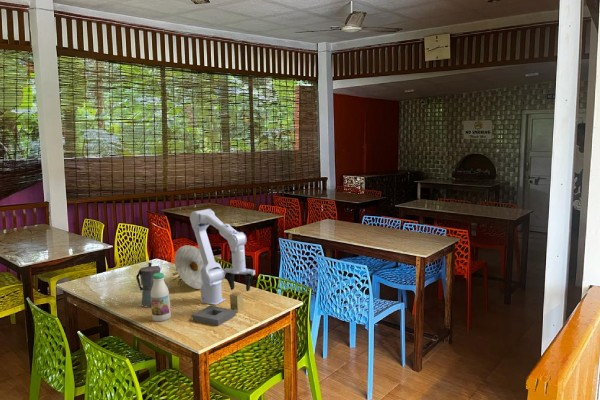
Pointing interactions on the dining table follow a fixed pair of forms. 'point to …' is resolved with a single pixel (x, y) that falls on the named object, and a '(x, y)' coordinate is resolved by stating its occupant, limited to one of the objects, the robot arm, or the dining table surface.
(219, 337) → the dining table surface
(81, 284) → the dining table surface
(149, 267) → the moka pot
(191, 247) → the disc
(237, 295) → the plug block
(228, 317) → the grey flat slab
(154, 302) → the milk bottle
